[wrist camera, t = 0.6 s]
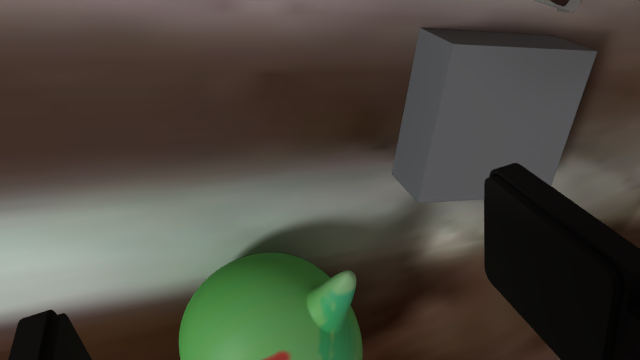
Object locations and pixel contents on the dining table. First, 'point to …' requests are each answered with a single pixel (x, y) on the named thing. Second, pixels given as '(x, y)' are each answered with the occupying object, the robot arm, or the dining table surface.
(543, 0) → the food container
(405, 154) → the grey block
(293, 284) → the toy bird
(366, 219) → the dining table surface
